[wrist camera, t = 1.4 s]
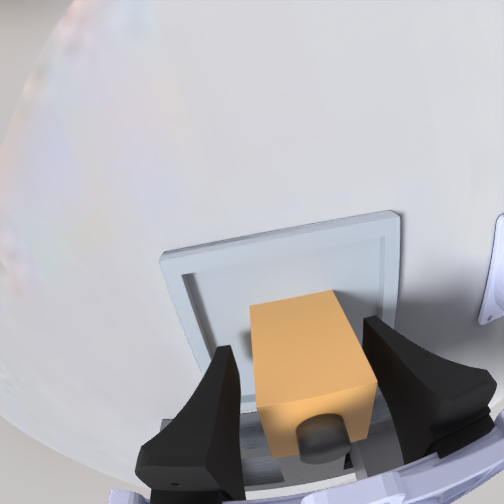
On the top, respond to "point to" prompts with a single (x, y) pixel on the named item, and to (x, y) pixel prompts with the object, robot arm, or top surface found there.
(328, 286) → the tray
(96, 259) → the top surface
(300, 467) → the strip
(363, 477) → the grey block with knob
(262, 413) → the plug
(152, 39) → the top surface
